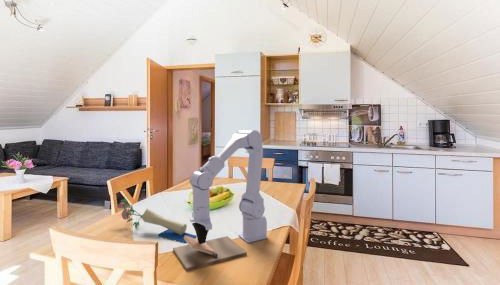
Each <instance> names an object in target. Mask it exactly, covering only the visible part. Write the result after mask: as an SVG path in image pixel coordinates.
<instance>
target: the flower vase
mask: <svg viewBox="0 0 500 285" xmlns="http://www.w3.org/2000/svg"><path fill="white" fill-rule="evenodd" d="M126 204H127V200H126V198H125V196H123V199H121V200H120V203H119V204H118V206H119V208H121V209H123V208H124V209H123V210H122V212H121V217H122V220H125V221H126V223H130V222H131V221H133V218H130V217H131V216H133V215H134V216H137V217H139V219H137V220H138V221H135V222H133V223H132V226H134V228H135V229H137V228H138V226H139V225H140V221H141V220H142V221H143V222H144V223H148V224H153V225H157V226H160V227H163V228H165V229H166V230H168V229H169V230H171V231H173V232H175V233H177V234H179V235H182V234H184V233H186V230H187V227H188V225H187V224H186V223H183V222H179V221H175V220H172V219H169V218H166V217H164V216H161V215H160V214H158V213H156V212H154V211H153V210H151V209H149V208H146V209H145V210H144V212H143V213H142V214H140V213H138V211H136V210H135V209H134V208H133V207H134V206H133V204H131V205H126ZM126 207H128V208H126Z"/></svg>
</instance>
